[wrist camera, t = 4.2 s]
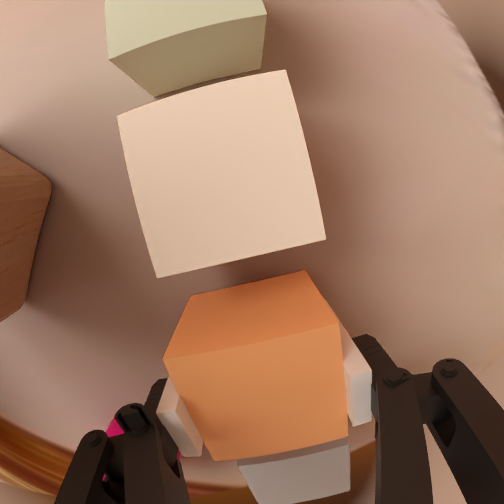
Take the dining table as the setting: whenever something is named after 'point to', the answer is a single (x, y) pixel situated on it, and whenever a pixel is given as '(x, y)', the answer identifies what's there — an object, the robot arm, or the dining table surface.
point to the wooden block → (19, 227)
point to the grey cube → (299, 473)
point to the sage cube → (184, 40)
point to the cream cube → (221, 173)
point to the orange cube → (260, 368)
